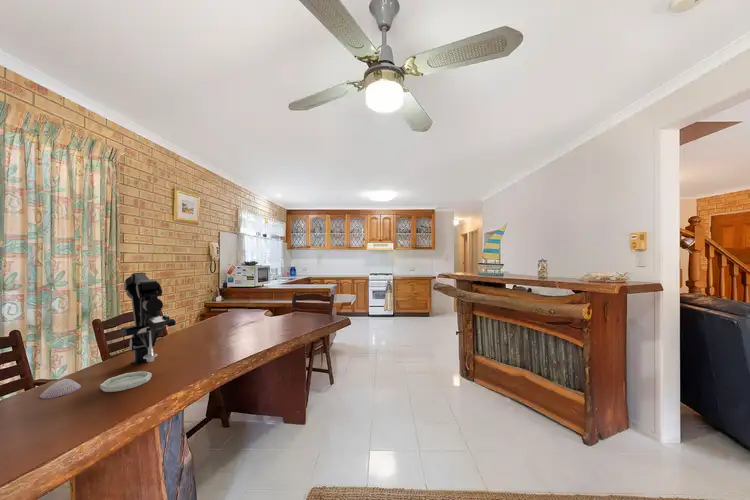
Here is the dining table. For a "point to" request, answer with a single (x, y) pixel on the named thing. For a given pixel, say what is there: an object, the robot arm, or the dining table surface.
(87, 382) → the dining table surface
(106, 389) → the dish
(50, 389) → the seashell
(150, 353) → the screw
